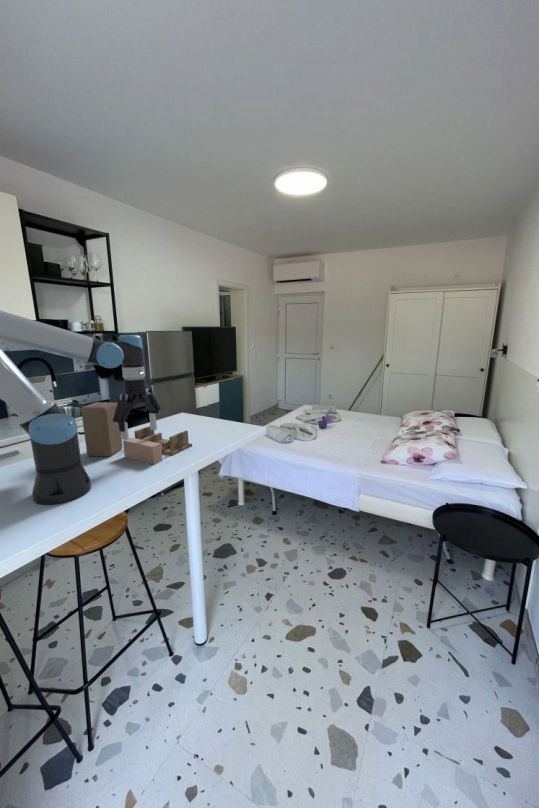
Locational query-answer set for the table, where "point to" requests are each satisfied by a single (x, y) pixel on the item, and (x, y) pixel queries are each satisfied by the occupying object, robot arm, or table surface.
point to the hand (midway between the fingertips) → (140, 434)
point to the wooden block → (101, 429)
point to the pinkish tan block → (142, 450)
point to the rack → (165, 440)
